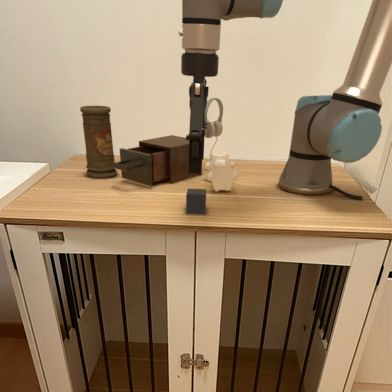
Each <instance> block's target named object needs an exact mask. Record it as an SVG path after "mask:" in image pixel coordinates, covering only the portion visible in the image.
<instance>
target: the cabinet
mask: <svg viewBox="0 0 392 392" xmlns="http://www.w3.org/2000/svg"><path fill="white" fill-rule="evenodd" d="M144 145H146V146H151V147H155V148H160V149H165V150H169V178H167V179H163V180H160V182H163V183H167V184H174V183H178V182H181V181H184V180H188V179H191V178H194V177H195V178H196V177H198V176H202V175H203V160H202V161H201V174H193V173H188V171H189V140H186V136H185V137H183V136H179V135H173V134H171V135H165V136H160V137H154V138H149V139H143V140H139V141H138V147H139V146H144Z"/></svg>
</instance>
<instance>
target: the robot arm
mask: <svg viewBox="0 0 392 392" xmlns="http://www.w3.org/2000/svg"><path fill="white" fill-rule="evenodd" d="M283 1H284V0H181V6H182V7H181V13H182V15H181V23H182V24H181V28H182V29H179V30H178V36H179V37H182V38H181V49H182V50H184V52H182V53H181V57H180V59H181V62H180V66H181V67H180V73H181V75H183V76H185V77H193V79H192V82H191V84H190V85H189V87H188V97H189V102H188V103H189V112H190V113H189V130H188V131H189V132H188V134H186V135H185V138H186V140H189V171H188V173H193V174H201V161H202V162H203V160H205V159H204V156H205V138H206V137H205V129H207V128H208V124H205V109H206V106H207V101H208V97H209V89H210V87H209V86H207V79H206V78H208V77H209V78H214V77H217V76H218V75H219V63H220V62H219V60H220V57H219V55H218V54H217V51H220V47H221V28H222V25H221V24H222V20H223V21H230V20H235V19H245V18H246V19H247V18H258V19H270V18H271V19H272V18H275V17H276V16H277V15H278V13H279V12H280V10H281V8H282V6H283ZM391 67H392V0H372V2H371V4H370V7H369V10H368V12H367V16H366V18H365V21H364V23H363V27H362V30H361V32H360V35H359V37H358V41H357V44H356V47H355V49H354V51H353V54H352V57H351V61H350V63H349V66H348V69H347V71H346V75H345V77H344V80H343V83H342V85H341V86H339V87H338V88H336V89H334V90H333V92H332V94H323V95H322V94H319V95H303V96H301V97H300V98H299V99H298V100H297V102H296V108H295V110H294V118H293V127H292V133H291V139H290V146H289V153H288V157H287V160H286V163H285V165H284V167H283V170H282V171H281V174H280V176H279V178H278V184H277V185H278V187H279V189H281V190H283V191H286V192H288V193H293V194H298V195H306V196H317V195H318V196H319V195H325V194H328V193H330V192H332V190H333V191H335V192H336V193H339V194H341V195H342V196H345V197H347V198H350V199H355V200H359V201H360V200H361V201H362V200H363V198H364V197H363V195H358V194H357V195H356V194H352V193H348V192H346V191H344V190H343V189H340V188H339V187H337V186H335V185H334V184H333V183H334V182H333V171H332V160H333V161H336V162H341V163H344V164H345V163H346V164H351V163H355V162H358V161H361V160H362V159H363V158H365V157H367V156H368V155H369V154H370V153H371V152H372V151H373V150H374V149H375V147H376V146H377V144H378V142H379V140H380V138H381V134H382V130H383V129H382V128H383V124H382V119H381V117H380V115H379V114H380V111H381V109H382V106H383V101H382V99H381V95H380V93H381V92H382V89H383V86H384V83H385V81H386V79H387V76H388V73H389V72H390V69H391Z"/></svg>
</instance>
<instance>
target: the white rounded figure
mask: <svg viewBox="0 0 392 392" xmlns="http://www.w3.org/2000/svg"><path fill="white" fill-rule="evenodd" d="M229 157H230V154H229V153H228V151H226V150H223V151H222V152H221V153H218V152H217V151H211V152H210V153H209V160H208V161H206V162H205V164H204V169H205V171H209V172H207V175H206V180H207V181H208V182H211V184H212V185H211V188H212V190H213V191H214V192H216V193H218V192H219V191H225V192H231V191H232V189H233V183H234V182H235V181H237V180H238V178H239V173H238V171H234V170H233V169H234V166H235V163H234V162H233V161H231V160H229Z"/></svg>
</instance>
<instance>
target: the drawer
mask: <svg viewBox="0 0 392 392" xmlns="http://www.w3.org/2000/svg"><path fill="white" fill-rule="evenodd" d="M119 159H120V161H117V162H115V161H114V162H115V163H114V162H110V163H109V166H110V167H111V168H115V169H116V170H120V171H121V172H120V173H121V179H125V180H127V181H128V180H129V181H132V182H136V183H139V184H143V185H146V186H152V185H153V183H156V182H159V181H160V180H163V179H167V178H169V150H165V149H160V148H155V147H151V146H146V145H144V146H139V145H138V146H134V147H129V148H123V147H122V148H119ZM160 182H161V181H160Z"/></svg>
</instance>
